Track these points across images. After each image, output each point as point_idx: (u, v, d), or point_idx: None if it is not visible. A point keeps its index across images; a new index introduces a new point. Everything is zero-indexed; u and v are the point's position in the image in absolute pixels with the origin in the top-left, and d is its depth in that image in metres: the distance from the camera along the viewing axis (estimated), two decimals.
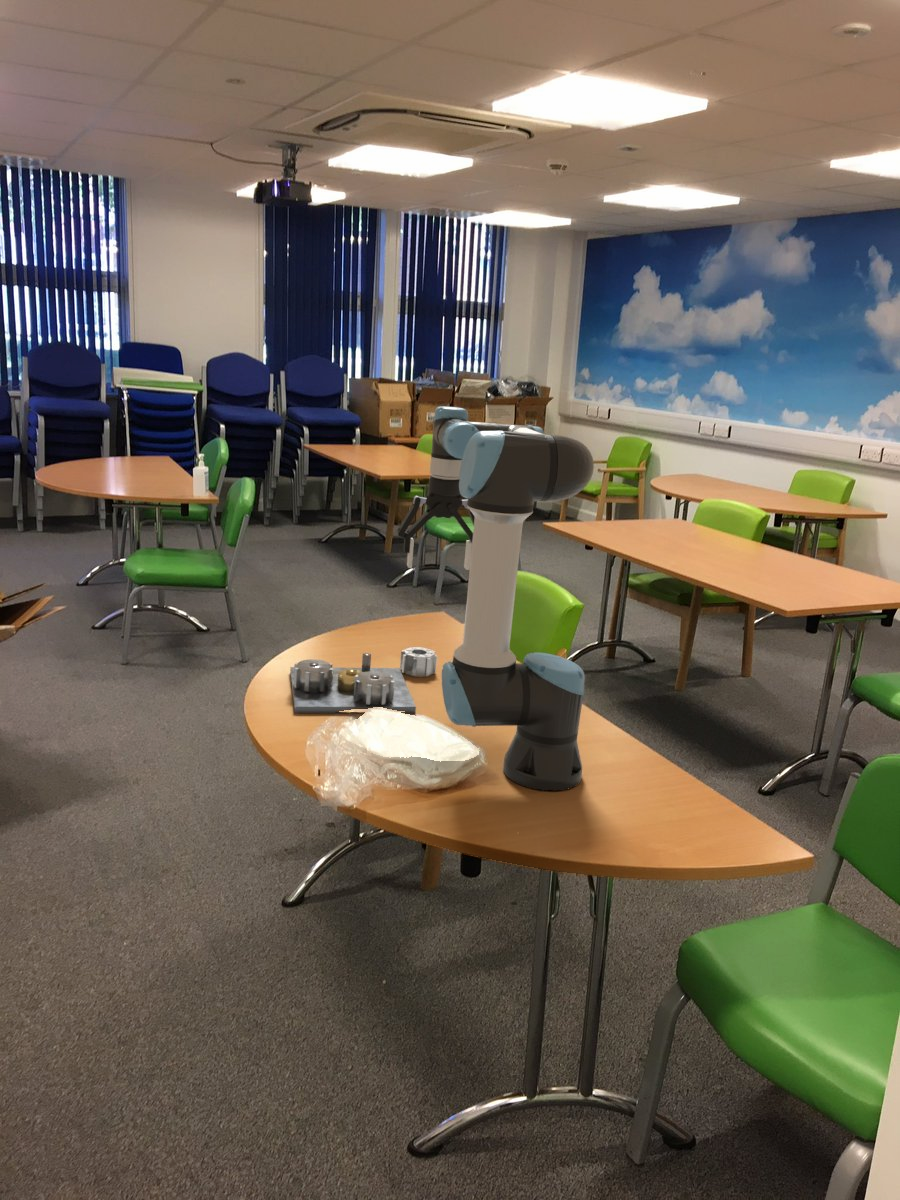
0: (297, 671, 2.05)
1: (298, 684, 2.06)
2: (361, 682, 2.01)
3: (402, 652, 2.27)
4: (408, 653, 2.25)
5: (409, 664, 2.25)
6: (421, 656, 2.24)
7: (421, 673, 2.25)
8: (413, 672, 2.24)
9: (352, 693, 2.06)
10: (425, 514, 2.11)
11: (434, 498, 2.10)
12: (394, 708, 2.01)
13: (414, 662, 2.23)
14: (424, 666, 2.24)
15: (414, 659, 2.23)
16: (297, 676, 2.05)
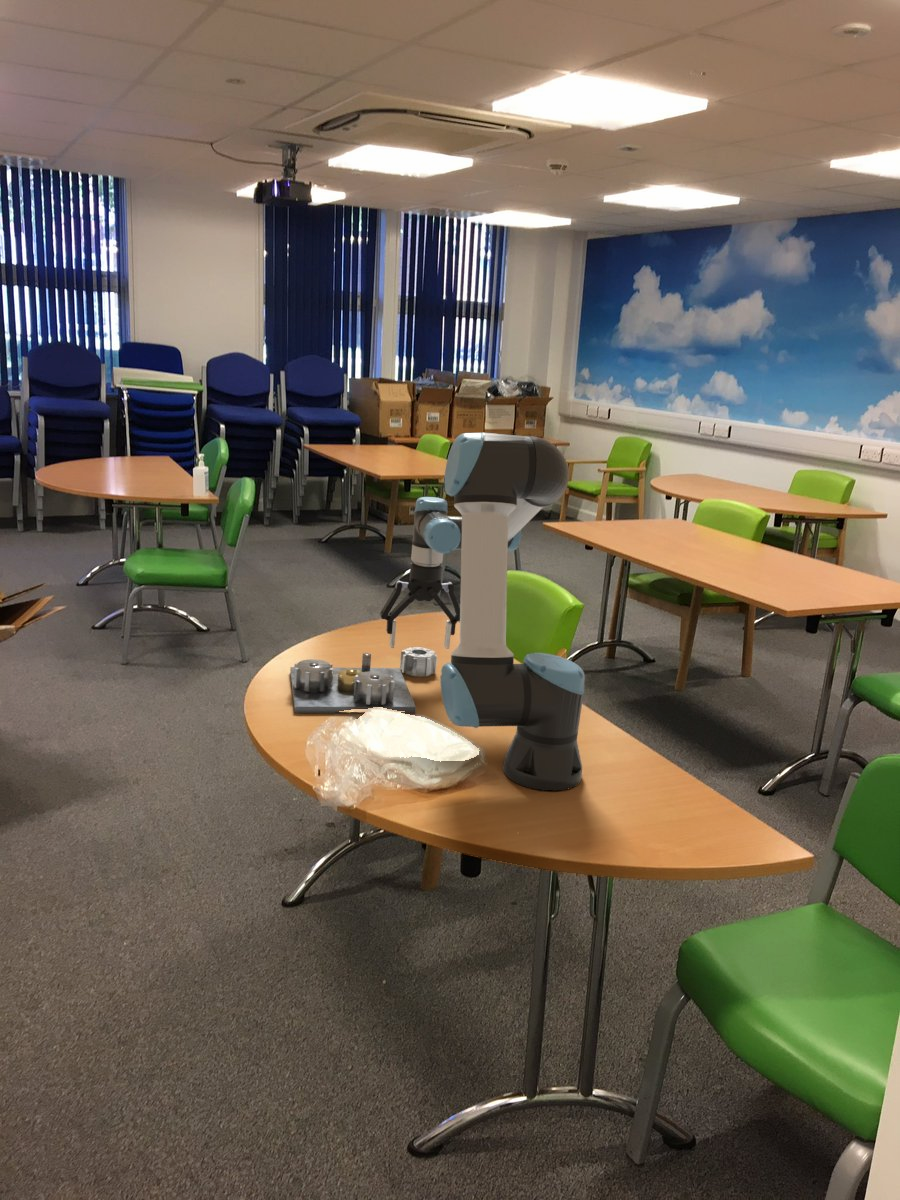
0: (297, 671, 2.05)
1: (298, 684, 2.06)
2: (361, 682, 2.01)
3: (402, 652, 2.27)
4: (408, 653, 2.25)
5: (409, 664, 2.25)
6: (421, 656, 2.24)
7: (421, 673, 2.25)
8: (413, 672, 2.24)
9: (352, 693, 2.06)
10: (407, 597, 2.22)
11: (415, 583, 2.21)
12: (394, 708, 2.01)
13: (414, 662, 2.23)
14: (424, 666, 2.24)
15: (414, 659, 2.23)
16: (297, 676, 2.05)
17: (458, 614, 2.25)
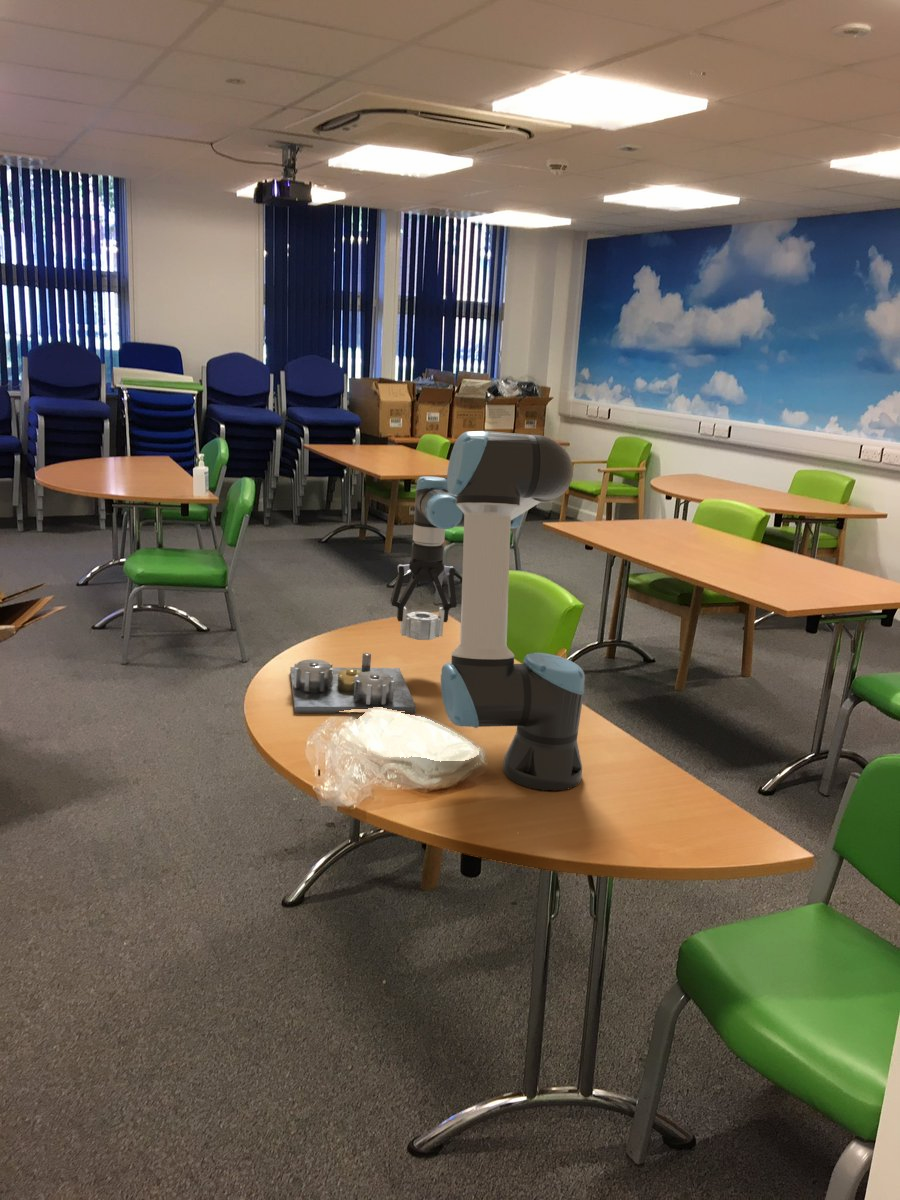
0: (297, 671, 2.05)
1: (298, 684, 2.06)
2: (361, 682, 2.01)
3: None
4: (411, 616, 2.22)
5: (412, 627, 2.22)
6: (424, 619, 2.21)
7: (424, 636, 2.22)
8: (416, 635, 2.21)
9: (352, 693, 2.06)
10: (412, 581, 2.21)
11: (416, 563, 2.19)
12: (394, 708, 2.01)
13: (417, 625, 2.20)
14: (427, 629, 2.21)
15: (417, 622, 2.20)
16: (297, 676, 2.05)
17: (452, 600, 2.23)
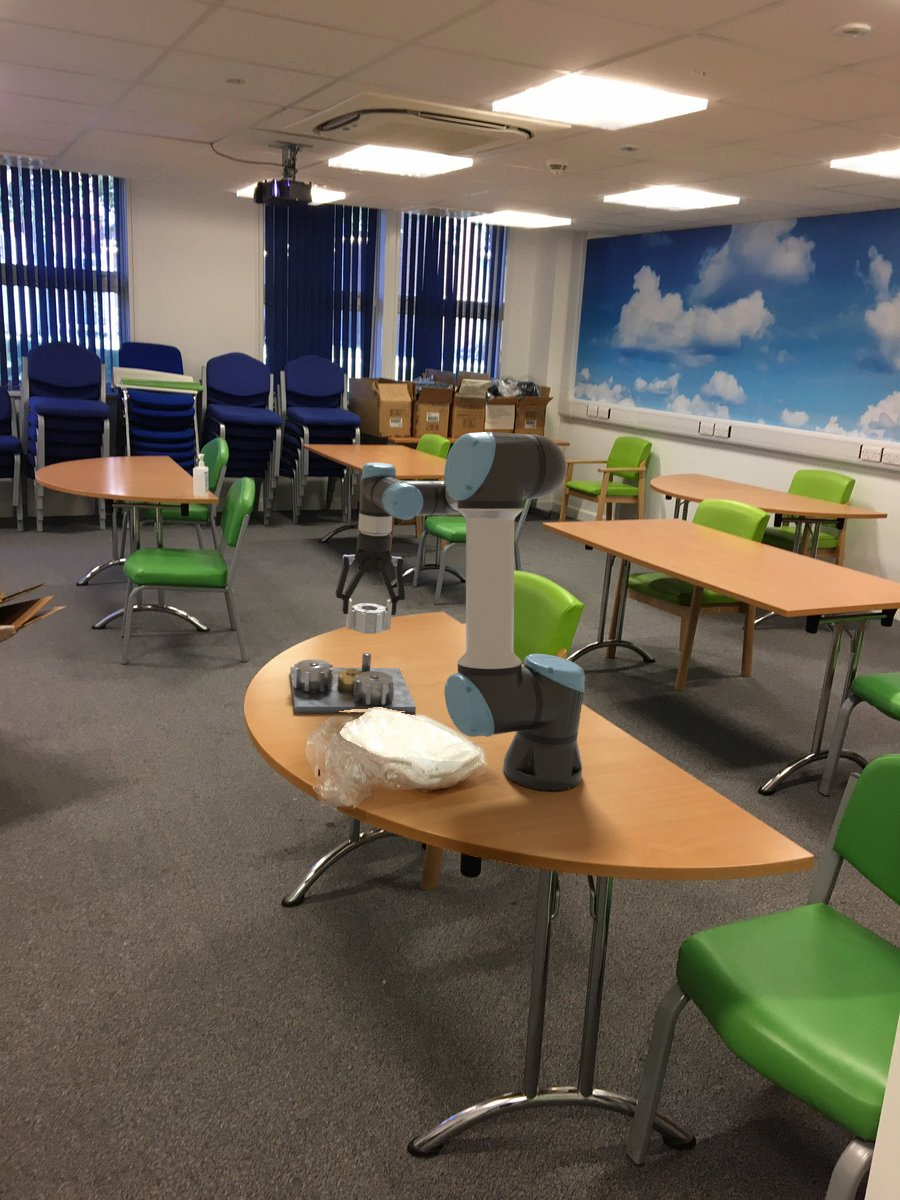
0: (297, 671, 2.05)
1: (298, 684, 2.06)
2: (361, 682, 2.01)
3: None
4: (357, 609, 2.13)
5: (358, 620, 2.12)
6: (371, 612, 2.11)
7: (371, 630, 2.12)
8: (362, 629, 2.11)
9: (352, 693, 2.06)
10: (357, 572, 2.11)
11: (362, 553, 2.09)
12: (394, 708, 2.01)
13: (363, 618, 2.10)
14: (374, 623, 2.12)
15: (363, 615, 2.10)
16: (297, 676, 2.05)
17: (400, 592, 2.14)
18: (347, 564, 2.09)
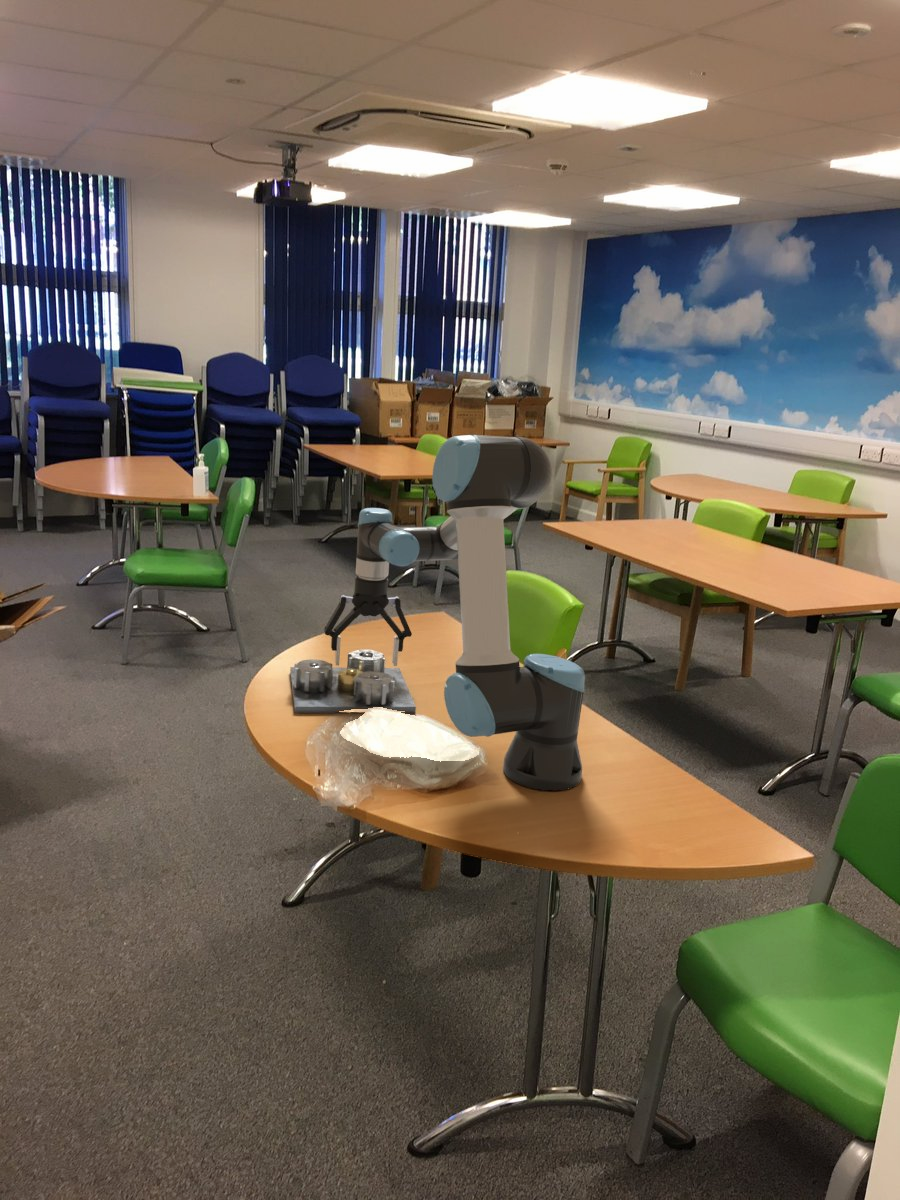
0: (297, 671, 2.05)
1: (298, 684, 2.06)
2: (361, 682, 2.01)
3: (349, 655, 2.18)
4: (355, 656, 2.16)
5: (355, 667, 2.15)
6: (368, 659, 2.14)
7: None
8: None
9: (352, 693, 2.06)
10: (352, 612, 2.13)
11: (360, 597, 2.12)
12: (394, 708, 2.01)
13: (360, 665, 2.13)
14: (371, 670, 2.15)
15: (360, 662, 2.13)
16: (297, 676, 2.05)
17: (406, 630, 2.16)
18: (343, 604, 2.11)
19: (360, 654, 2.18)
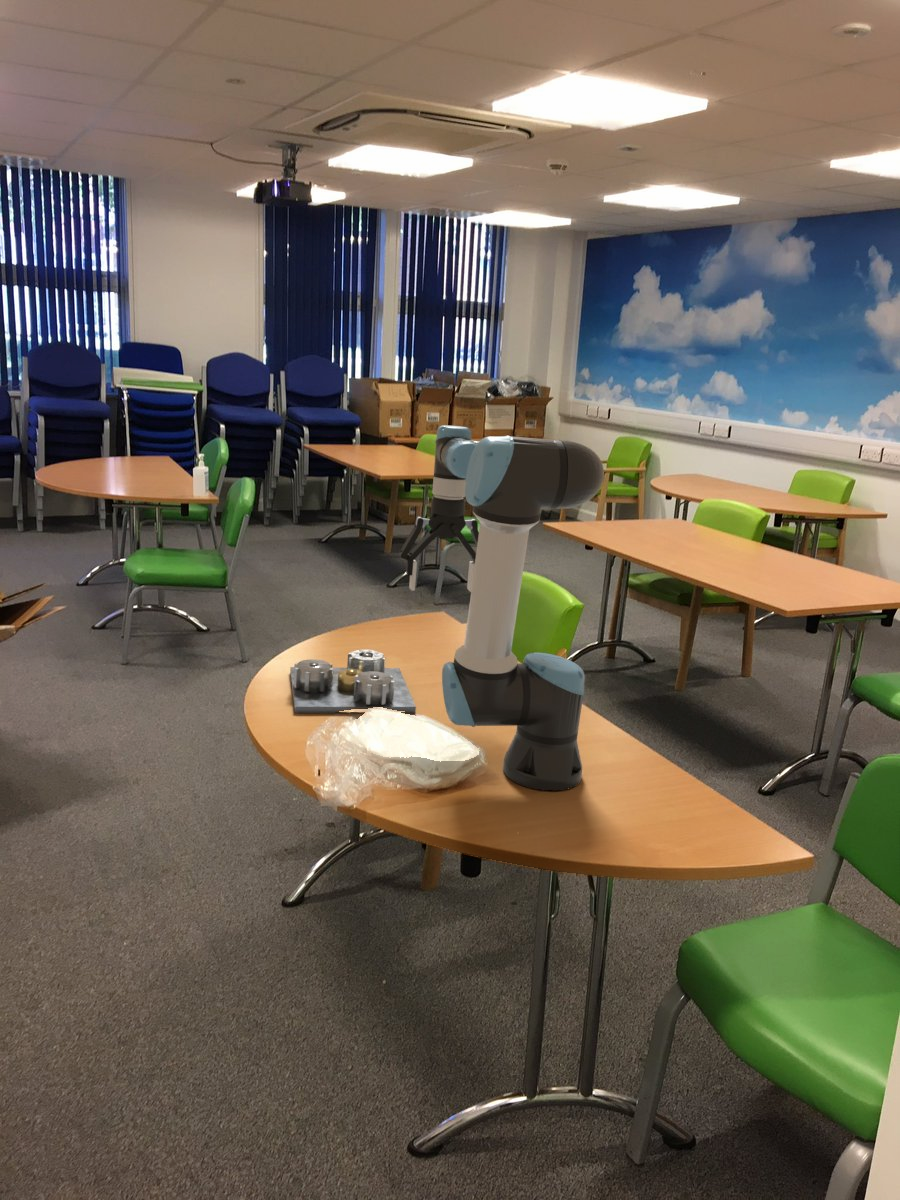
0: (297, 671, 2.05)
1: (298, 684, 2.06)
2: (361, 682, 2.01)
3: (349, 655, 2.18)
4: (355, 656, 2.16)
5: (355, 667, 2.15)
6: (368, 659, 2.14)
7: None
8: None
9: (352, 693, 2.06)
10: (428, 535, 2.06)
11: (437, 519, 2.05)
12: (394, 708, 2.01)
13: (360, 665, 2.13)
14: (371, 670, 2.15)
15: (360, 662, 2.13)
16: (297, 676, 2.05)
17: None
18: (420, 526, 2.04)
19: (360, 654, 2.18)
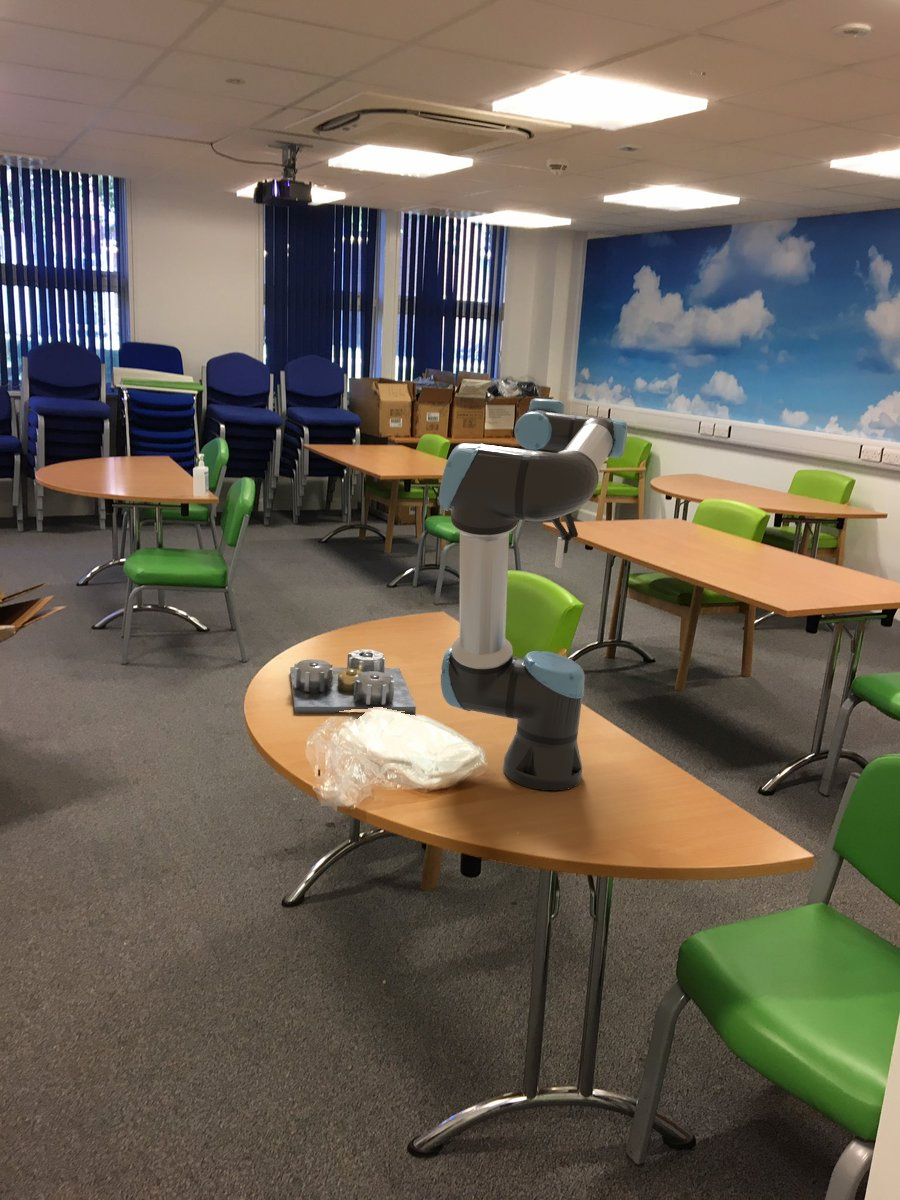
0: (297, 671, 2.05)
1: (298, 684, 2.06)
2: (361, 682, 2.01)
3: (349, 655, 2.18)
4: (355, 656, 2.16)
5: (355, 667, 2.15)
6: (368, 659, 2.14)
7: None
8: None
9: (352, 693, 2.06)
10: None
11: None
12: (394, 708, 2.01)
13: (360, 665, 2.13)
14: (371, 670, 2.15)
15: (360, 662, 2.13)
16: (297, 676, 2.05)
17: (572, 529, 2.06)
18: None
19: (360, 654, 2.18)
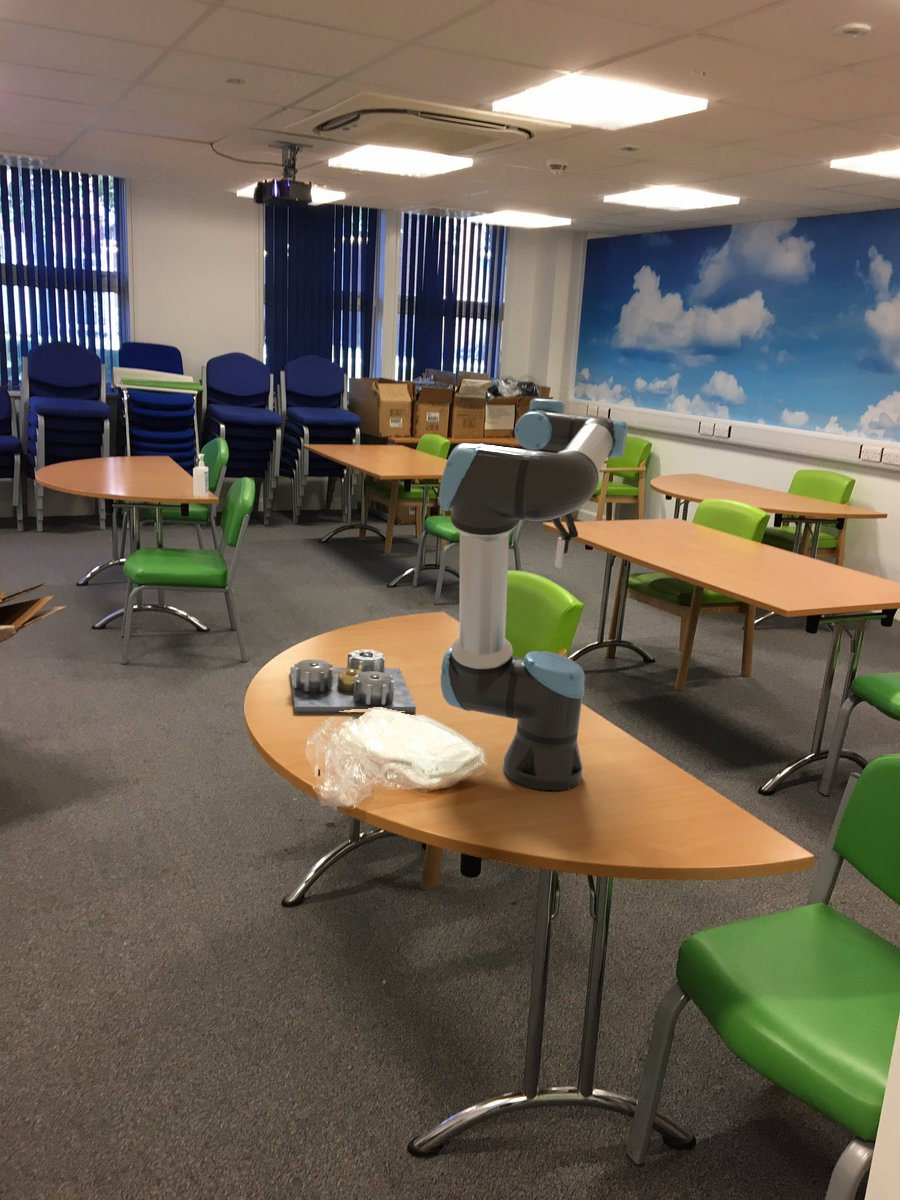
0: (297, 671, 2.05)
1: (298, 684, 2.06)
2: (361, 682, 2.01)
3: (349, 655, 2.18)
4: (355, 656, 2.16)
5: (355, 667, 2.15)
6: (368, 659, 2.14)
7: None
8: None
9: (352, 693, 2.06)
10: None
11: None
12: (394, 708, 2.01)
13: (360, 665, 2.13)
14: (371, 670, 2.15)
15: (360, 662, 2.13)
16: (297, 676, 2.05)
17: (572, 529, 2.06)
18: None
19: (360, 654, 2.18)
